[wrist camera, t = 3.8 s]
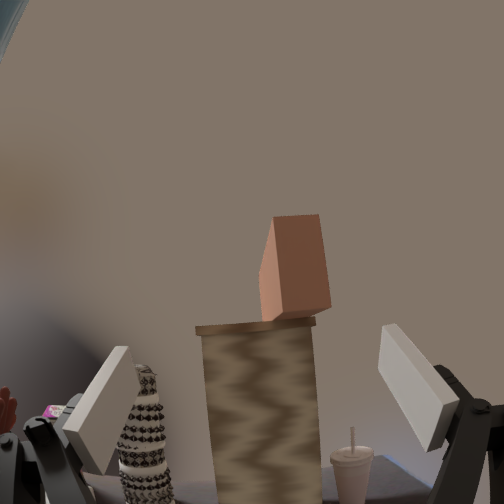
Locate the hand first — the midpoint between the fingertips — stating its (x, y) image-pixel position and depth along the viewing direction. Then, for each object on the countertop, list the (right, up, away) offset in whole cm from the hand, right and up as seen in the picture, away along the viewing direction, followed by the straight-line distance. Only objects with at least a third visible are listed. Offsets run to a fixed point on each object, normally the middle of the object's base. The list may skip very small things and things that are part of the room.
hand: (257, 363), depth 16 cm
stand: (+3, -33, +18) cm, 37 cm away
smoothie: (+15, -33, +20) cm, 41 cm away
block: (+4, -2, +21) cm, 22 cm away
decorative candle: (-17, -36, +24) cm, 47 cm away
